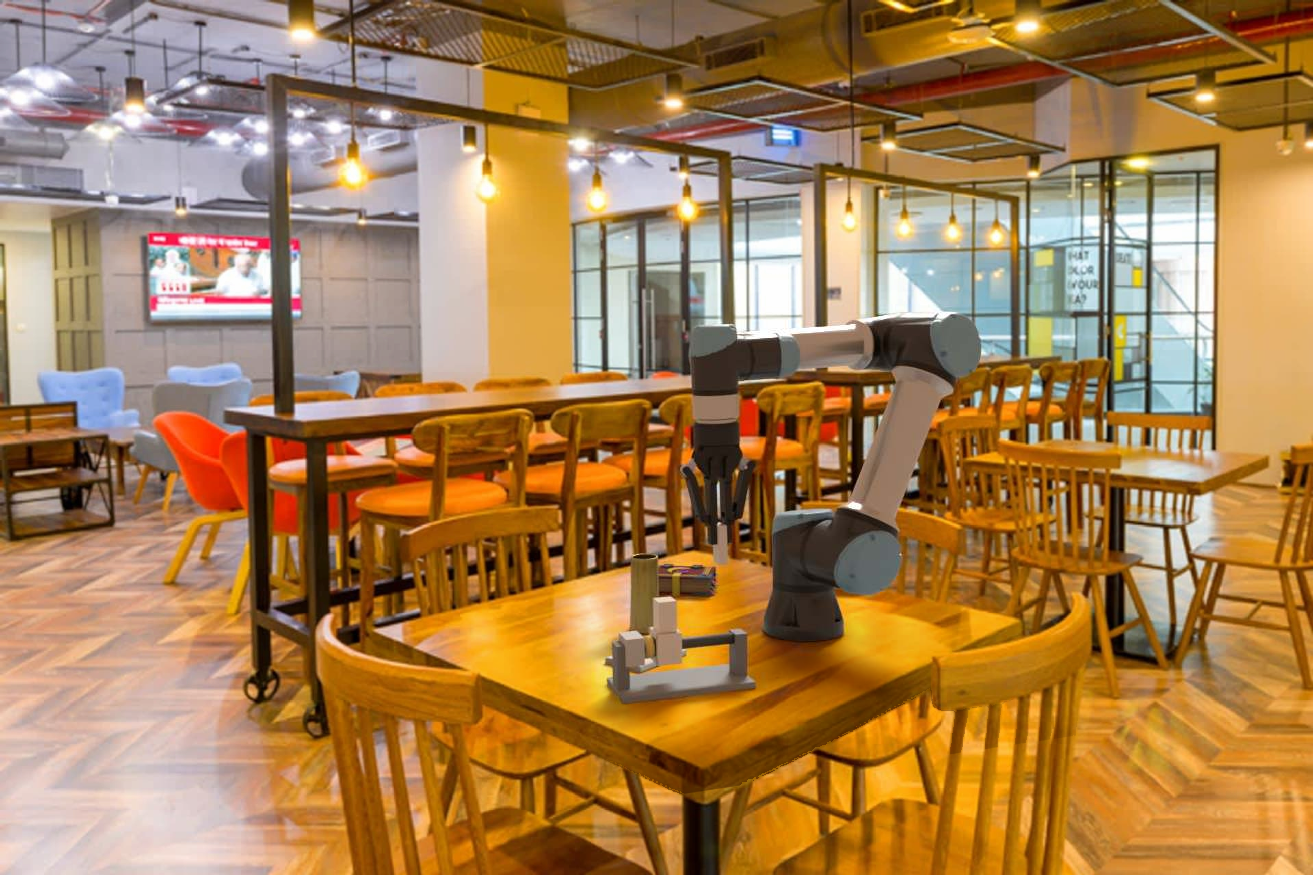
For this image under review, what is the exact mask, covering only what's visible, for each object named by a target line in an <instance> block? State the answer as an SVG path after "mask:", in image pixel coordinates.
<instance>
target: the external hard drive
mask: <svg viewBox="0 0 1313 875" xmlns="http://www.w3.org/2000/svg"><path fill="white" fill-rule="evenodd" d="M684 656H687V649H682V657H684ZM604 663H605V664H607V665H610V666H612V655H610V656H607V657H605V659H604ZM656 667H659V666H658V665H657V664H656V663H655V662H654V661H653V660H652V659H651V658H649V659H645V665H643V666H634V667H630V671H633V672H638V673H643V672H645V671H649V670H651V669H654V668H656Z"/></svg>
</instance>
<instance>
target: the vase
mask: <svg viewBox="0 0 1313 875" xmlns="http://www.w3.org/2000/svg"><path fill="white" fill-rule="evenodd" d="M658 565H659V556H658V555H657V554H653V553H636V554H632V555H631V556H630V611H629V617H630V618H629V631H637V632H638V633H639V634H641V635H643V634H649V627H654V626H653V598H660V594H659V577H658Z"/></svg>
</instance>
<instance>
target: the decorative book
mask: <svg viewBox="0 0 1313 875" xmlns="http://www.w3.org/2000/svg"><path fill="white" fill-rule="evenodd" d="M718 576H719V575H718V574H717V567H716V566H704V565H703V564H692V565H674V563H664V564H662V565H659V564H658V577H659V595H671V597H681V595H682V596H683V595H684V596H693V597H708V598H709V597H712V595H713V596H716V593H715V592H714V591H715V587H716V588H719V585H718V584H717V583H718V578H717V577H718Z"/></svg>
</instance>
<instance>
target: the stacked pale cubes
mask: <svg viewBox="0 0 1313 875" xmlns="http://www.w3.org/2000/svg"><path fill="white" fill-rule="evenodd" d="M677 601H678V600H677V599H675V598H673V596H663V597H662V596H661V597H660V596H659V598H653V626H654V627H649V633H648V636H649V635H651V636H652V638H653V641H656V652H655V654H654V657H653V658H651V659H652V660H653V661H654V662H655V663H656V664H657V665H658V666H657V667H662V666H670V665H679V664H682V663H683V656H682V638H683V632H682V631H680V630H679V629H678V615H677V614H678V602H677Z"/></svg>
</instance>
